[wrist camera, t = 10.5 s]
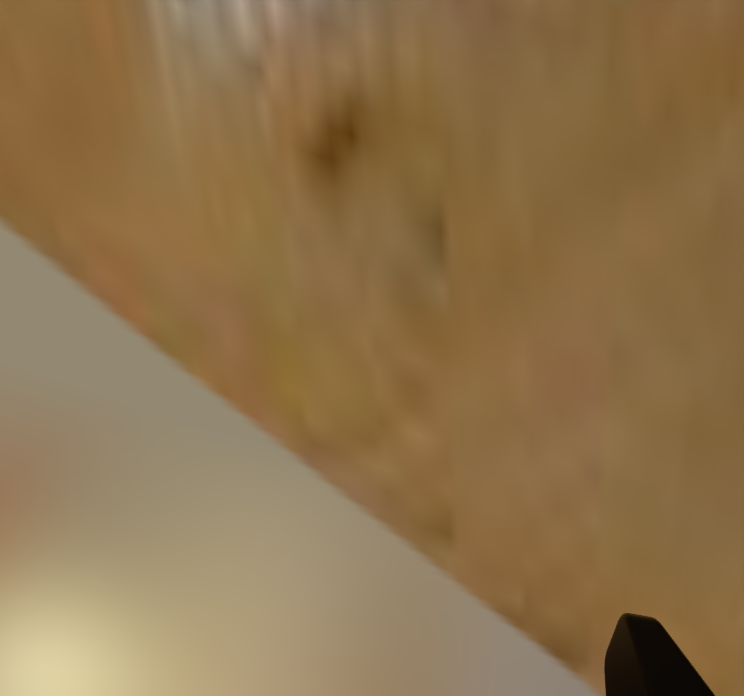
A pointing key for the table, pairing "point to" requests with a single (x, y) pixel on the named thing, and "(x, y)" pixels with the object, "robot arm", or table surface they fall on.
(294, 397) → the table surface
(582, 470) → the table surface
